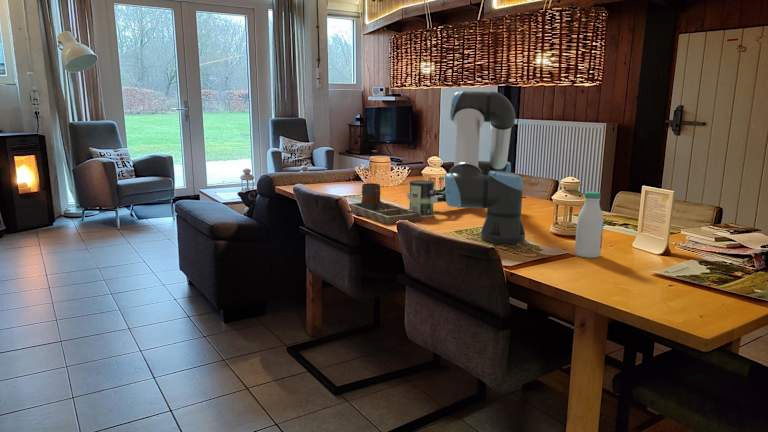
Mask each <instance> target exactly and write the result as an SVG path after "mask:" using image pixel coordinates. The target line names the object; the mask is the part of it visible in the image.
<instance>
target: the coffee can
mask: <svg viewBox="0 0 768 432" xmlns="http://www.w3.org/2000/svg"><path fill="white" fill-rule="evenodd" d="M434 189H435V181H432V180H420V179H419V180H410V181H409V192H410V199H409V205H408V206H409V207H408V209H409V210H412V211H415V212H419V213H422V214H421V218H431V217H434V203H431V197H432V196H434Z"/></svg>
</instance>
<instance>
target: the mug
mask: <svg viewBox="0 0 768 432" xmlns="http://www.w3.org/2000/svg"><path fill="white" fill-rule="evenodd" d="M361 189H362V190H361V202H360V203H361V207H362V208H365V209H368V210H371V211H380V210H382V209H381V184H379V183H374V182H373V183H363V184H362V187H361Z"/></svg>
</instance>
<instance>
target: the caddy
mask: <svg viewBox="0 0 768 432" xmlns="http://www.w3.org/2000/svg"><path fill="white" fill-rule="evenodd" d="M380 201H381V200H380ZM348 204H349V206H350V208H351V211H352V212H351V211H350V212H351V213H353V212H355V213H354V214H356V213H358V214H357V215H359V214H360V215H359V216H362V217H365V218H368V219H370V220H373V221H375V222H376V221H377V222H379V223H382V224H384V225H387V226H388V225H396V222H397V221H399V220H408V221H411V222H410V223H413V222H421V221H422V217H421V214H422V213H419V212H415V211H412V210H409V208H405V207H401V206H397V205H395V204H393V203H388V202H385V201H381V208H383V209H386V210H383V209H381V210H380V211H371V210H368V209H365V208H362V207H361V202H354V203H348Z"/></svg>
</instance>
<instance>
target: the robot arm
mask: <svg viewBox="0 0 768 432" xmlns="http://www.w3.org/2000/svg"><path fill="white" fill-rule="evenodd" d="M515 112H516V111H515V108H514V106H513V105H512V102H511V101H510V100H509V99H508V98H507V97H506V96H505V95H504V94H501V93H499V92H498V91H477V90H476V91H472V90H470V91H469V90H468V91H466V90H462V91H456V92H455V93H454V94H453V96H452V100H451V106H450V113H449V117H450V118H449V119H450V120H451V121H452V122H453V123H454V125H455V127H456V136H455V137H456V139H455V149H454V150H455V151H454V161H453V162H454V164H453V166H452V167H451V168H450V169H449V172H448V173H445V174H444V187H442V189H435V188H434V196H432V197H431V203H433V204H437V203H446V204H447V206H448V207H451V208H458V209H461V208H463V209H467V208H468V209H486V217H485V220H484V223H483V224H482V228H481V230H480V239H481V240H483V241H484V242H485V241H486V242H488V243H494V244H501V245H504V244H505V245H506V244H507V245H512V244H513V245H514V244H520V243H524V242H525V240H526V232H525V228H524V225H523V221H522V209H523V208H522V207H523V192H524V180H523V177H521V175H518V174H517V173H512V172H511V169H512V166H511V162H509V161H508V156H509V149H510V142H511V132H512V128H513V126H514V125H515V121H516V113H515ZM484 123H490V125H491V136H490V137H491V139H490V141H491V142H490V151H489V152H490V153H489V154H490V155H489V160H488V161H486V160H479V155H480V154H479V153H480V133H481V132H480V130H481V128H482V126H483V125H484ZM407 200H410V191H409V192H407Z"/></svg>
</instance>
